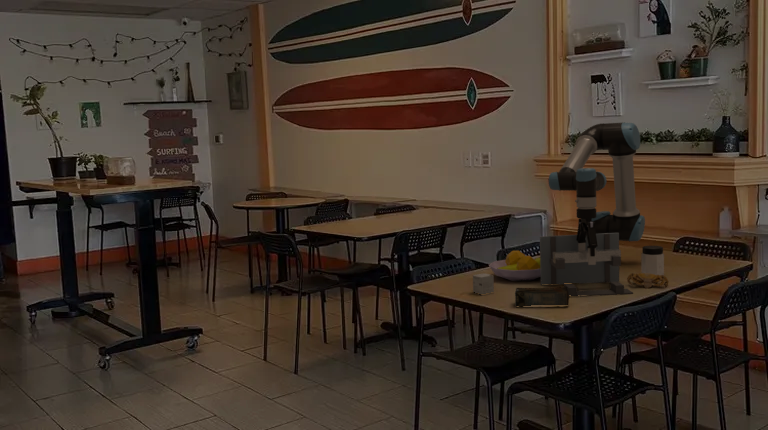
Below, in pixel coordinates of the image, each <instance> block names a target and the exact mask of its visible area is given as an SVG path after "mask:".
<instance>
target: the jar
mask: <svg viewBox="0 0 768 430" xmlns="http://www.w3.org/2000/svg"><path fill="white" fill-rule="evenodd" d="M641 249H642V252H641V273H649V274H655V275H664V276H665V253H664V247H663V246H661V245H645V246H642V248H641Z"/></svg>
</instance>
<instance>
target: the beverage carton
mask: <svg viewBox="0 0 768 430" xmlns="http://www.w3.org/2000/svg"><path fill="white" fill-rule="evenodd" d="M514 297H515V298H514V299H515V300H514V304H515V307H516V306H531V305H568V306H569V301H570V297H569V294H568V289H567V287H564V286H554V287H553V286H552V287H516V288H515V292H514Z"/></svg>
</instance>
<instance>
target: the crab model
mask: <svg viewBox="0 0 768 430" xmlns="http://www.w3.org/2000/svg"><path fill="white" fill-rule="evenodd" d="M626 280H627V283H628V284H629V285H631V286H633V283H634V284H636V285H639V286H643V287H644V288H645V290H649V289H650V288H651V287H652V286H654V287H661V286H664V288H667V287H668V285H669V280H668V278H667V277H666V275H665V274H664V275H655V274H649V273H642V272H641V273H634V272H632V273H630V274H629V275H628V276H627V277H626ZM631 281H632V282H633V283H632V282H631ZM659 282H660V283H659Z"/></svg>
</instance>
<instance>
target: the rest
mask: <svg viewBox="0 0 768 430" xmlns="http://www.w3.org/2000/svg"><path fill="white" fill-rule="evenodd" d="M563 287H567V289H568V294H569V295H571V296H578V295H600V296H612V295H613V296H614V295H615V296H616V295H617V294H620V295H633V294H634V292H633V291H631V290H630V289H629V288H625V284H623V283H621V282H620V281H619V282H618V281H616V282H609V288H610V289H590V290H578V287H577V286H576V285H575V284H563Z"/></svg>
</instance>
